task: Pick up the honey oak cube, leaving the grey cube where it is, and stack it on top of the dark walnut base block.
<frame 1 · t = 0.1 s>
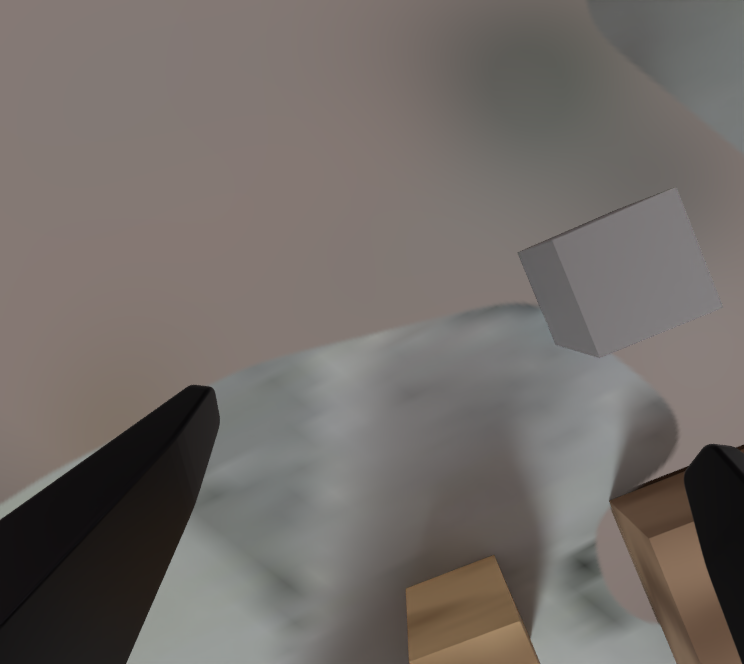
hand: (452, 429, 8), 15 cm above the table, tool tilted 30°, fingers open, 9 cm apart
oak cube: (467, 612, 24), on the table
walnut base: (734, 548, 24), on the table
grey cube: (583, 278, 23), on the table
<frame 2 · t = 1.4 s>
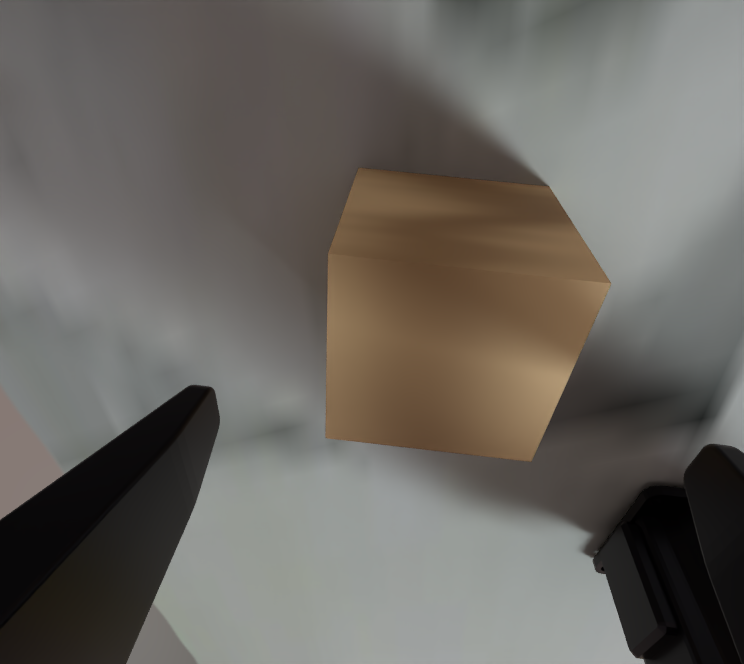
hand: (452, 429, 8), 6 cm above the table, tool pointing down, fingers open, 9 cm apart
oak cube: (438, 260, 14), on the table
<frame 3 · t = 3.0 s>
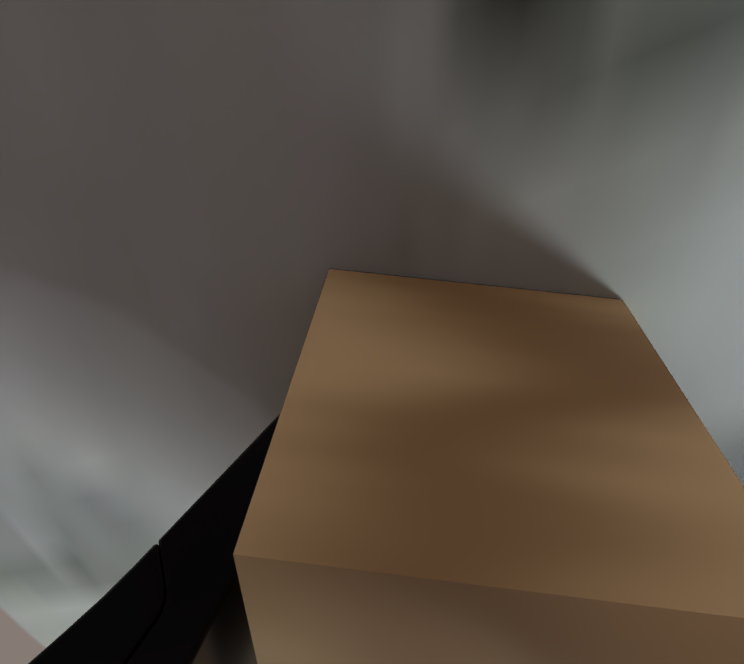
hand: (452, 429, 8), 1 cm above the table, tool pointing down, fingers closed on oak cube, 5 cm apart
oak cube: (449, 390, 9), on the table, touching gripper
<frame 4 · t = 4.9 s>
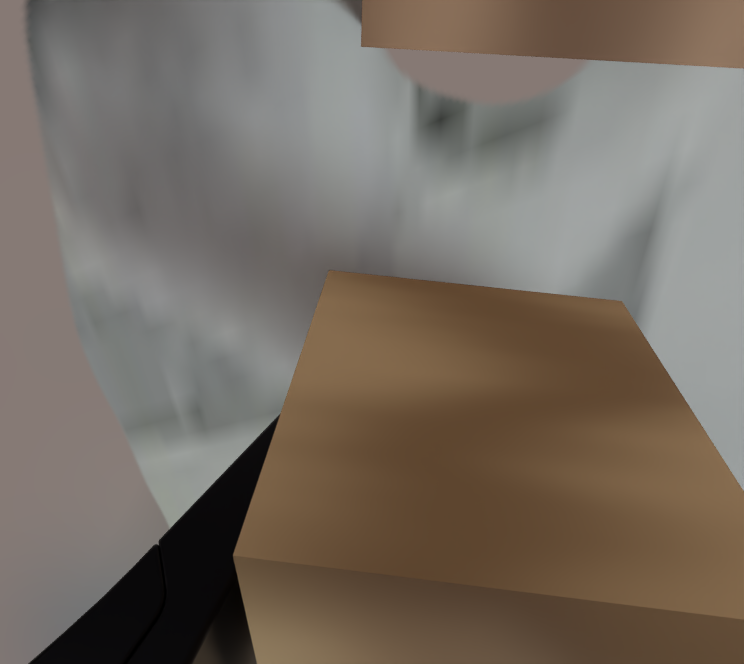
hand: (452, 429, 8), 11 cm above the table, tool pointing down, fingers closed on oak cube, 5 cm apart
oak cube: (449, 390, 9), point 10 cm above the table, touching gripper
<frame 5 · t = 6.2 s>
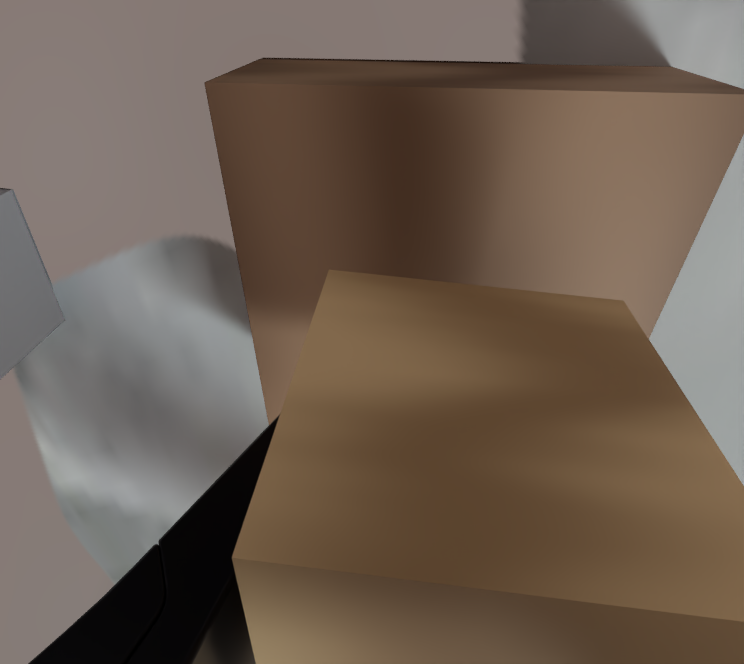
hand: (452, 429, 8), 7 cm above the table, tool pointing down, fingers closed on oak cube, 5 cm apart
oak cube: (449, 390, 9), point 6 cm above the table, touching gripper
walnut base: (439, 243, 15), on the table
when the fingers open (6 cm above the table, at t = 7.2 s): oak cube drops 1 cm, resting on walnut base.
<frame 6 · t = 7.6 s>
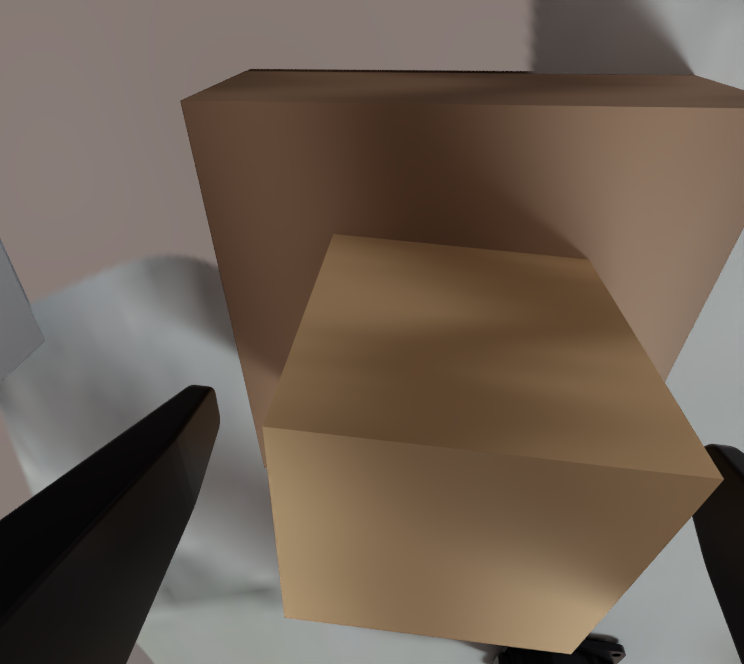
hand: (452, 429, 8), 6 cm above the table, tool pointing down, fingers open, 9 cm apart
oak cube: (440, 346, 10), point 4 cm above the table, touching walnut base
walnut base: (441, 262, 14), on the table, touching oak cube
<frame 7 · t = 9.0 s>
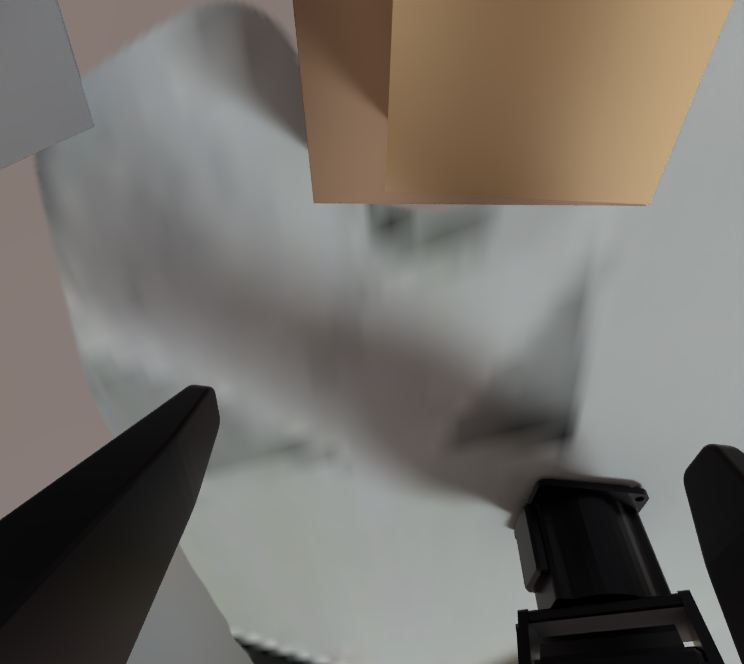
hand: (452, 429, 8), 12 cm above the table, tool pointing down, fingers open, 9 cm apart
oak cube: (502, 20, 11), point 4 cm above the table, touching walnut base
grey cube: (0, 42, 16), on the table
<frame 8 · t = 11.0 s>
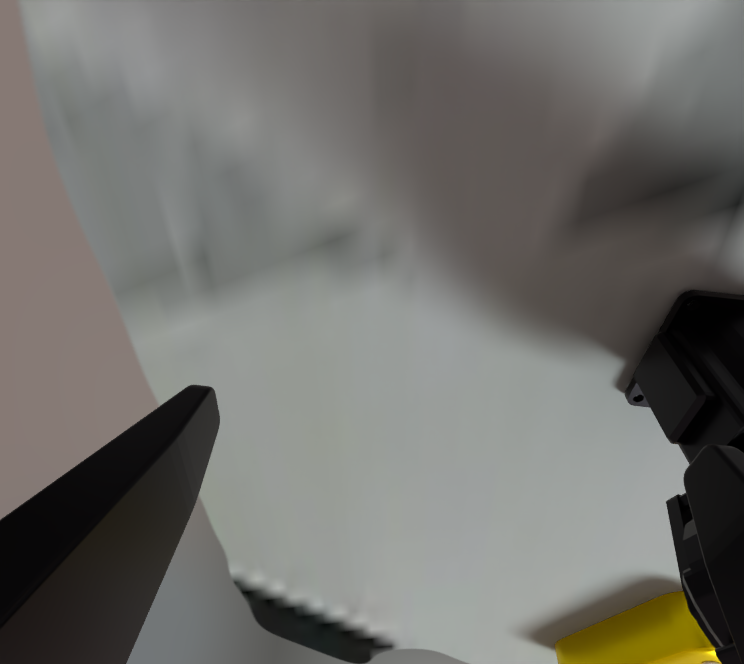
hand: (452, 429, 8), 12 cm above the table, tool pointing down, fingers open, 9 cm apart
element tile: (670, 636, 40), on the table
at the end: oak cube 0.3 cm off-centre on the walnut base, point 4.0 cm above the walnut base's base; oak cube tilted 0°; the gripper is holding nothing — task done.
